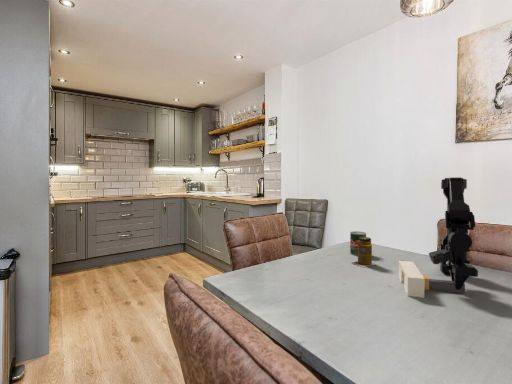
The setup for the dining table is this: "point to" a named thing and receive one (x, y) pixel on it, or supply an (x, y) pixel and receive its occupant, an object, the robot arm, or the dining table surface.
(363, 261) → the condiment
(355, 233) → the canned tomato
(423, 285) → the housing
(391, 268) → the dining table surface
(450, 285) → the orange grey square bar
